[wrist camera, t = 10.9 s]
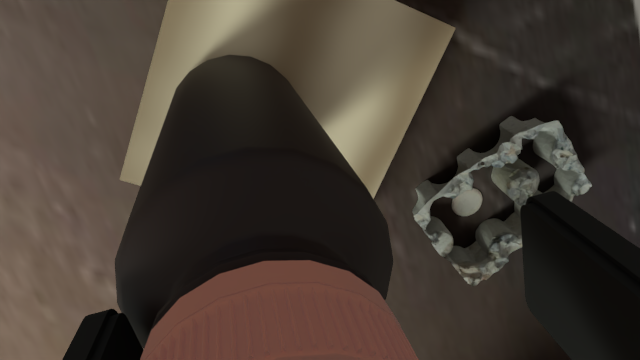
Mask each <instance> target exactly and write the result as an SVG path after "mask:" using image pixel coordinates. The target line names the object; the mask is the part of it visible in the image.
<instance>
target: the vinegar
mask: <svg viewBox="0 0 640 360" xmlns="http://www.w3.org/2000/svg"><path fill="white" fill-rule="evenodd" d="M392 266H393V256H392V249H391V243H390V237H389V231H388V225H387V222H386V220H385V218H384V216H383V215H382V213H381V211H380V210H379V208H378V206H377V204H376V203H375V201H374V199H373V198H372V196H371V194H370V192H369V191H368V189H367V188H366V186H365V185H364V183H363V182H362V181H361V179H360V178H359V177H358V175H357V174H356V173H355V171H354V170H353V168H352V167H351V166H350V164H349V163H348V162H347V160H346V159H345V158H344V156H343V155H342V153H341V152H340V151H339V149H338V148H337V147H336V145H335V144H334V143H333V141H332V140H331V139H330V137H329V136H328V134H327V133H326V132H325V130H324V129H323V128H322V126H321V125H320V124H319V122H318V121H317V119H316V118H315V117H314V115H313V114H312V113H311V111H310V110H309V109H308V107H307V106H306V104H305V103H304V102H303V100H302V99H301V98H300V96H299V95H298V94H297V92H296V91H295V89H294V88H293V87H292V85H291V84H290V83H289V81H288V80H287V79H286V78H285V77H284V76H283V75H282V74H281V73H280V72H278V71H277V70H276V69H275V68H274V67H273V66H271V65H270V64H267V63H265V62H263V61H260V60H258V59H256V58H253V57H251V56H239V55H226V56H221V57H217V58H213V59H209V60H207V61H205V62H203V63H202V64H200V65H199V66H197V67H196V68H194V69H192V70H191V71H189V73H188V74H187V75H186V76H185V78H184V79H183V80H182V81H181V83H180V84H179V85H178V86H177V88H176V90H175V93H174V96H173V98H172V101H171V104H170V107H169V110H168V112H167V115H166V118H165V121H164V123H163V126H162V129H161V132H160V134H159V137H158V140H157V143H156V145H155V148H154V151H153V154H152V156H151V159H150V162H149V165H148V168H147V170H146V173H145V176H144V179H143V181H142V184H141V187H140V190H139V192H138V195H137V198H136V201H135V203H134V206H133V209H132V212H131V214H130V217H129V220H128V223H127V226H126V229H125V232H124V235H123V238H122V241H121V243H120V246H119V249H118V252H117V255H116V258H115V274H116V290H117V303H118V306H119V308H120V310H121V312H122V313H124V314H125V315H126V316H127V318H128V320H129V322H130V324H131V326H132V328H133V330H134V332H135V334H136V336H137V338H138V340H139V342H140V344H141V346H142V347H143V348H144V350H143V353H142V356H141V358H140V360H419V359H418V358H417V356H416V354H415V352H414V350H413V348H412V346H411V345H410V343H409V341H408V339H407V338H406V336H405V334H404V332H403V330H402V328H401V326H400V324H399V323H398V321H397V319H396V317H395V316H394V314H393V313H392V311H391V310H390V308H389V307H388V305H387V304H386V302H385V299H386V297H387V292H388V286H389V281H390V276H391V271H392Z"/></svg>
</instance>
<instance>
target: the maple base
mask: <svg viewBox="0 0 640 360" xmlns="http://www.w3.org/2000/svg"><path fill="white" fill-rule="evenodd" d="M455 29H456V28H455V27H453V26H450V25H448V24H446V23H444V22H442V21H439V20H437V19H435V18H433V17H430V16H428V15H426V14H424V13H422V12H419V11H417V10H415V9H413V8H411V7H408V6H406V5H404V4H402V3H400V2H397V1H395V0H168V3H167V7H166V10H165V14H164V18H163V21H162V25H161V29H160V33H159V36H158V40H157V44H156V47H155V51H154V55H153V58H152V62H151V66H150V70H149V73H148V77H147V81H146V84H145V88H144V92H143V95H142V99H141V103H140V107H139V110H138V114H137V118H136V121H135V125H134V129H133V132H132V136H131V140H130V144H129V147H128V151H127V155H126V158H125V162H124V166H123V169H122V173H121V177H120V180H122V181H126V182H129V183H133V184H136V185H140V186H141V184H142V181H143V179H144V176H145V173H146V170H147V168H148V165H149V162H150V159H151V156H152V154H153V151H154V148H155V145H156V143H157V140H158V137H159V134H160V132H161V129H162V126H163V123H164V121H165V118H166V115H167V112H168V110H169V107H170V104H171V101H172V98H173V96H174V93H175V90H176V88H177V86H178V85H179V84H180V83H181V81H182V80H183V79H184V78H185V76H186V75H187V74H188V73H189V71H191V70H192V69H194V68H196V67H197V66H199V65H200V64H202V63H203V62H205V61H207V60H209V59H213V58H217V57H221V56H226V55H239V56H251V57H253V58H256V59H258V60H260V61H263V62H265V63H267V64H270V65H271V66H273V67H274V68H275V69H276V70H277V71H278V72H280V73H281V74H282V75H283V76H284V77H285V78H286V79H287V80H288V81H289V83H290V84H291V85H292V87H293V88H294V89H295V91H296V92H297V94H298V95H299V96H300V98H301V99H302V100H303V102H304V103H305V104H306V106H307V107H308V109H309V110H310V111H311V113H312V114H313V115H314V117H315V118H316V119H317V121H318V122H319V124H320V125H321V126H322V128H323V129H324V130H325V132H326V133H327V134H328V136H329V137H330V139H331V140H332V141H333V143H334V144H335V145H336V147H337V148H338V149H339V151H340V152H341V153H342V155H343V156H344V158H345V159H346V160H347V162H348V163H349V164H350V166H351V167H352V168H353V170H354V171H355V173H356V174H357V175H358V177H359V178H360V179H361V181H362V182H363V183H364V185H365V186H366V188H367V189H368V191H369V192H370V194H371V196H372V198H373V199H374V197H375V195H376V193H377V190H378V188H379V186H380V184H381V182H382V180H383V178H384V176H385V174H386V172H387V170H388V168H389V166H390V163H391V161H392V159H393V157H394V155H395V153H396V151H397V149H398V147H399V145H400V143H401V141H402V139H403V136H404V134H405V132H406V130H407V128H408V126H409V124H410V122H411V120H412V118H413V116H414V114H415V112H416V110H417V107H418V105H419V103H420V101H421V99H422V97H423V95H424V93H425V91H426V89H427V87H428V85H429V83H430V80H431V78H432V76H433V74H434V72H435V70H436V68H437V66H438V64H439V62H440V60H441V58H442V56H443V53H444V51H445V49H446V47H447V45H448V43H449V41H450V39H451V37H452V35H453V33H454V31H455Z"/></svg>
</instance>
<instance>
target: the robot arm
mask: <svg viewBox="0 0 640 360" xmlns="http://www.w3.org/2000/svg"><path fill="white" fill-rule="evenodd" d="M520 217H521V233H522V249H523V265H524V282H525V297H526V302H527V305H528V307H529V309H530V311H531V312H532V314H533V315H534V316H535V317H536V318H537V320H538V321H539V322H540V323H541V324H542V325H543V327H544V328H545V329H546V330H547V331H548V333H549V334H550V335H551V336H552V337H553V338H554V340H555V341H556V342H557V343H558V344H559V346H560V347H561V348H562V349H563V350H564V351H565V353H566V354H567V355H568V356H569V357H570V359H571V360H640V249H639V248H638V247H637V246H635V245H634V244H632V243H631V242H629V241H628V240H626V239H625V238H623V237H622V236H620V235H619V234H617V233H616V232H615V231H613V230H612V229H610V228H609V227H607V226H606V225H604V224H603V223H601V222H600V221H598V220H597V219H596V218H594V217H593V216H591V215H590V214H588V213H587V212H585V211H584V210H582V209H581V208H579V207H578V206H576V205H575V204H574V203H572V202H571V201H569V200H568V199H566V198H565V197H563V196H562V195H560V194H559V193H557V192H555V191H549V192H546V193H542V194H538V195H535V196H531V197H529V198H527V201H526V204H525V205H522V206H521V209H520ZM142 353H143V348H142V346H141V344H140V342H139V340H138V338H137V336H136V334H135V332H134V330H133V328H132V326H131V324H130V322H129V320H128V318H127V316H126V315H125V314H124V313H119V314H118V313H117V311H115V310H114V309H109V310H106V311H102V312H98V313H95V314H91V315H88V316H85V318H84V319H83V321H82V323H81V325H80V327H79V329H78V331H77V332H76V334H75V336H74V338H73V340H72V342H71V344H70V346H69V348H68V350H67V352H66V354H65V356H64V358H63V360H140V358H141V356H142Z"/></svg>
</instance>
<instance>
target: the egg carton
mask: <svg viewBox="0 0 640 360" xmlns="http://www.w3.org/2000/svg"><path fill="white" fill-rule="evenodd" d="M499 127H500V139H499V141H498V143H497V144H496V146H495V147H494V148H492V149H491V150H489V151H487V152H485V153H477V152H474V151H472V150H471V149H469V148H468V149H466V150H465V151H464V152H462V153H461V154H460V155H458V156H457V162H458V170H457V173H456V175H455V176H454V177H453V179H451V180H450V181H449V182H447V183H444V184H433V183H431V182H430V181H428V180H426V181H424V182H423V183H421V184H420V185H419V186H418V187H417V188H416V191H417V193H418V201H417V204H416V206H415V207H414V208H413V214H414V216H413V217H414V219H415V220H416V222H417V223H418V224H419V225H420V226H421V227H422V228H423V231H424V232H425V234H426V235H427V236H428V237H429V239H430V240H432V241H433V242H432V245H433V246H434V248H435V249H436V250H437V252H438V253H439V254H440V255H441V256H443V257H444V258H446V259H447V260H448V261H450V262H451V263H452V265H453V266H454V267H455V269H456V270H457V271H458V272H459V274H460V275H461V276H462V277H463V278H464V280H465V281H466V282H467V283H468V284H470V285H471V286H475V285H477V284H478V283H479V282H480V281H481V280H487V279H488V278H489V277H491V275H492V274H493V273H495V272H497V271H499V270H500V269H501V268H502V267H503V266H504V265H505V263H507V262H509V261H508V255H509V254H510V253H511V252H513V251H515V250H517V249H519V248H521V247H522V233H521V217H520V209H521V206H522V205H525V204H526V201H527V198H529V197H531V196H535V195H538V194H542V192H540V191H538V190H537V189H538V185H539V181H540V180H539V175H538V172H537V171H536V170H535V169H533V168H532V167H530V166H529V165H527V164H526V163H524V162H523V161H522V160H520V159H518V157H517V155H519V154H520V153H521V150H520V149H523V148H522V138H526V139H534V141H533V150H534V152H535V153H536V154H537V155H538V156H540V157H541V158H543V159H545V160H547V161H548V162H550V163H551V164H553V165H554V166H555V167H556V168H557V170H556V172H555V174H554V185H553V186H552V187H551V188H550V189H549V190H547V191H546V192H549V191H555V192H557V193H559V194H560V195H562V196H563V197H565V198H566V199H568V200H569V201H571V202H572V200H573V197H574V195H577V196H578V195H581V194H584V193H586V192H587V191H588V190H589V188H590V187H592V184H591V183H590V181H589V180H588V179H587V178H586V176H585V174H584V172H585V169H584V167H583V166H582V165H581V163H580V161H579V160H578V157H577V154H576V152H575V150H574V149H573V146H572V142H571V141H570V140H569V138H568V137H567V136H566V134H565V133H564V130H563V127H562V125H561V124H560V122H559V121H558V120H557V121H552V122H548V123H544V122H542V121H539V120H538V119H536V118H533V119H531V120H528V121H520V120H518V119H516V118H515V117H513V116H510V117H508V118H507V119H506V120H504V121H503V122H502V123H501V124H499ZM481 162H485V164H484V165H483V166H484V167H489V166H490V165H492V166H493V167H494V168H493V170H492V174H491V177H492V180H493V182H494V183H495V184H496V185H497V186H498V187H499V188H500V189H501V190H502V191H503V192H504V193H506V194H507V195H508V196H509V197H510V198H511V199H512V200H513V201H514V202H515V204H514V211H515V212H514V213H513V214H511V215H510V216H509V217H508V218H507V219H506V220H505V221H504V222H503V221H501V220H500V219H496V218H493V219H487V220H485V221H483V222H482V223H481V224H480V225H479V227H478V228H477V230H476V233H475V238H476V241H475V242H474V243H473V244H472V245H470V246H469V247H467V248H462V247H460V246H453V241H454V240H453V237H452V234H451V233H450V232H449V230H448V229H447V228H446V226H445V225H444V224H443V223H442V221H441V220H439V219H438V218H436V217H432V216H430V207H431V205H432V203H433V201H434V200H436V199H438V198H441V197H442V196H444V197H447V198H452V199H453V200H452V205H451V207H452V210H453V211H454V212H455V213H456V214H457V215H460V216H469V215H471V214H473V213H475V212H476V211H478V209H479V208H480V206H481V204H482V200H483V198H482V194H481V192H480V191H479V190H478V189H475V188H473V186H472V185H473V181H474V179H473V177H472V175H471V173H470V172H471V171H472V170H479V169H480V168H481V167H483V166H482V165H481ZM546 192H544V193H546Z"/></svg>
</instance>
